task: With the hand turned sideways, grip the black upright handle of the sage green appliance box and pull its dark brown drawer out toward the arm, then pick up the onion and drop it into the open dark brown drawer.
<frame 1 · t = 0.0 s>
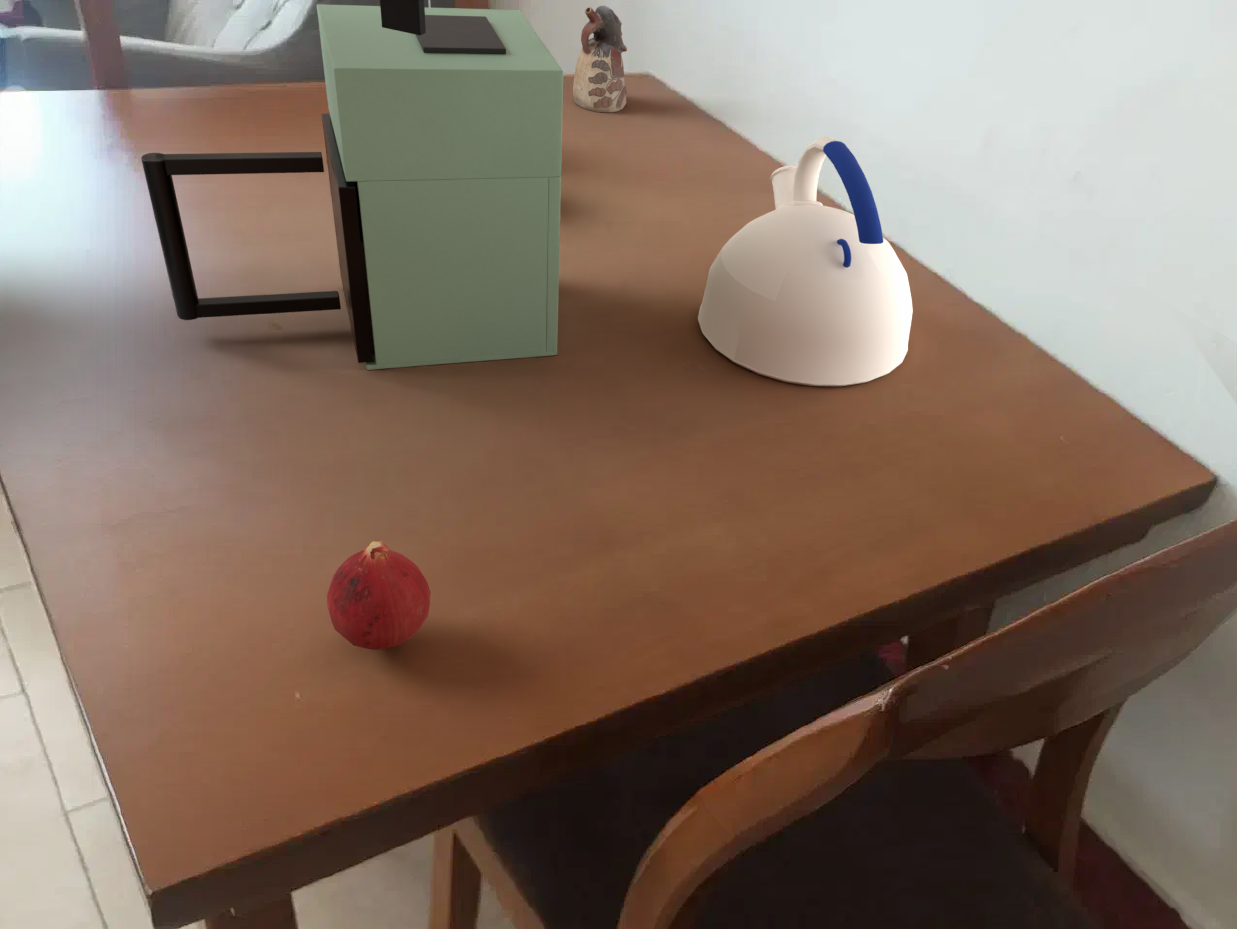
hand: (450, 7, 75), 28 cm above the table, tool pointing down, fingers open, 13 cm apart
sage green appliance box: (450, 318, 97), on the table
kettle: (802, 332, 104), on the table
french press: (441, 152, 126), on the table
figurine: (599, 104, 145), on the table
dark brown drawer: (350, 237, 89), point 8 cm above the table, slide at 0.0 cm
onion: (384, 645, 67), on the table
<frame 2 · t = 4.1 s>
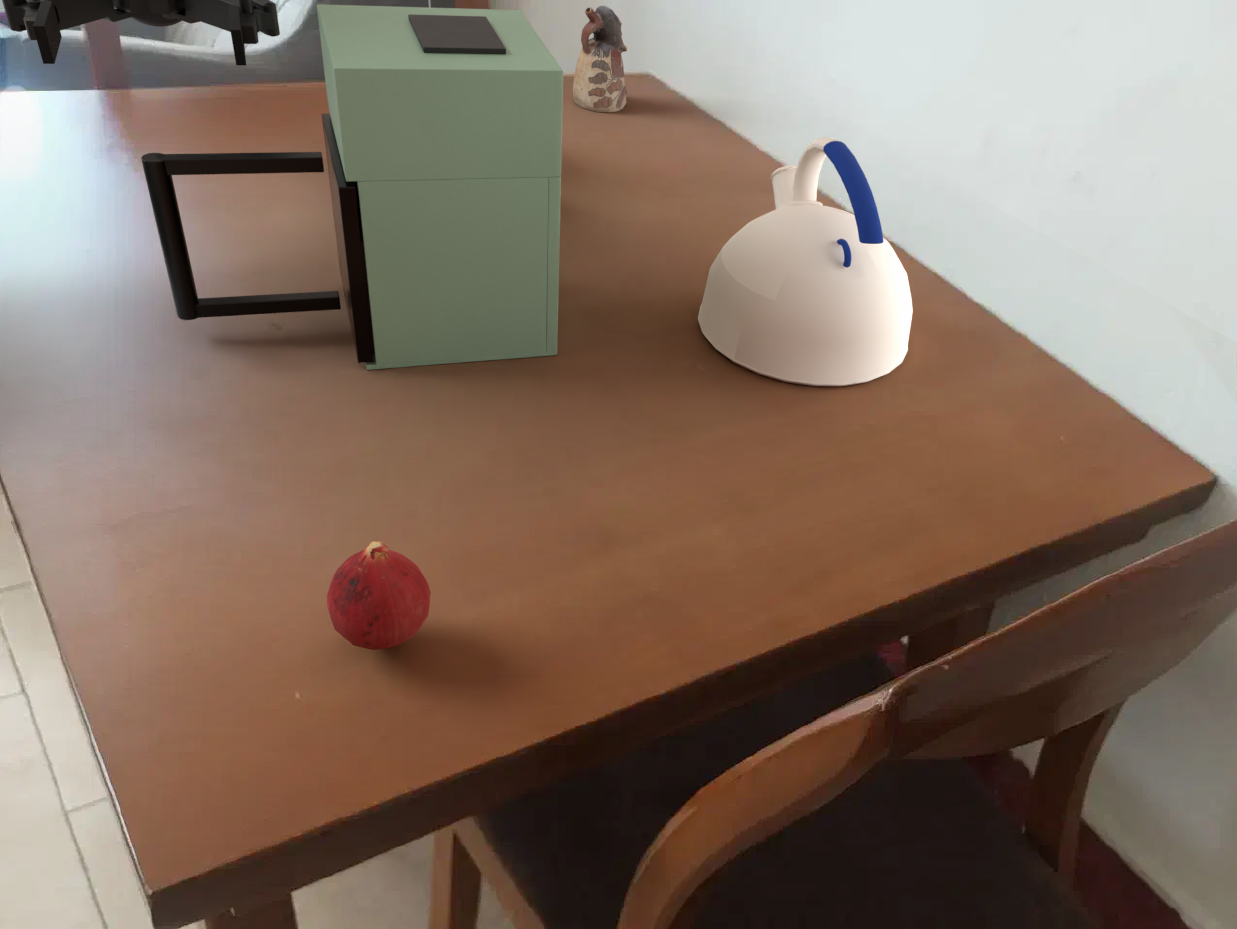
hand: (143, 46, 84), 20 cm above the table, tool horizontal, fingers open, 13 cm apart
nothing on the table moved.
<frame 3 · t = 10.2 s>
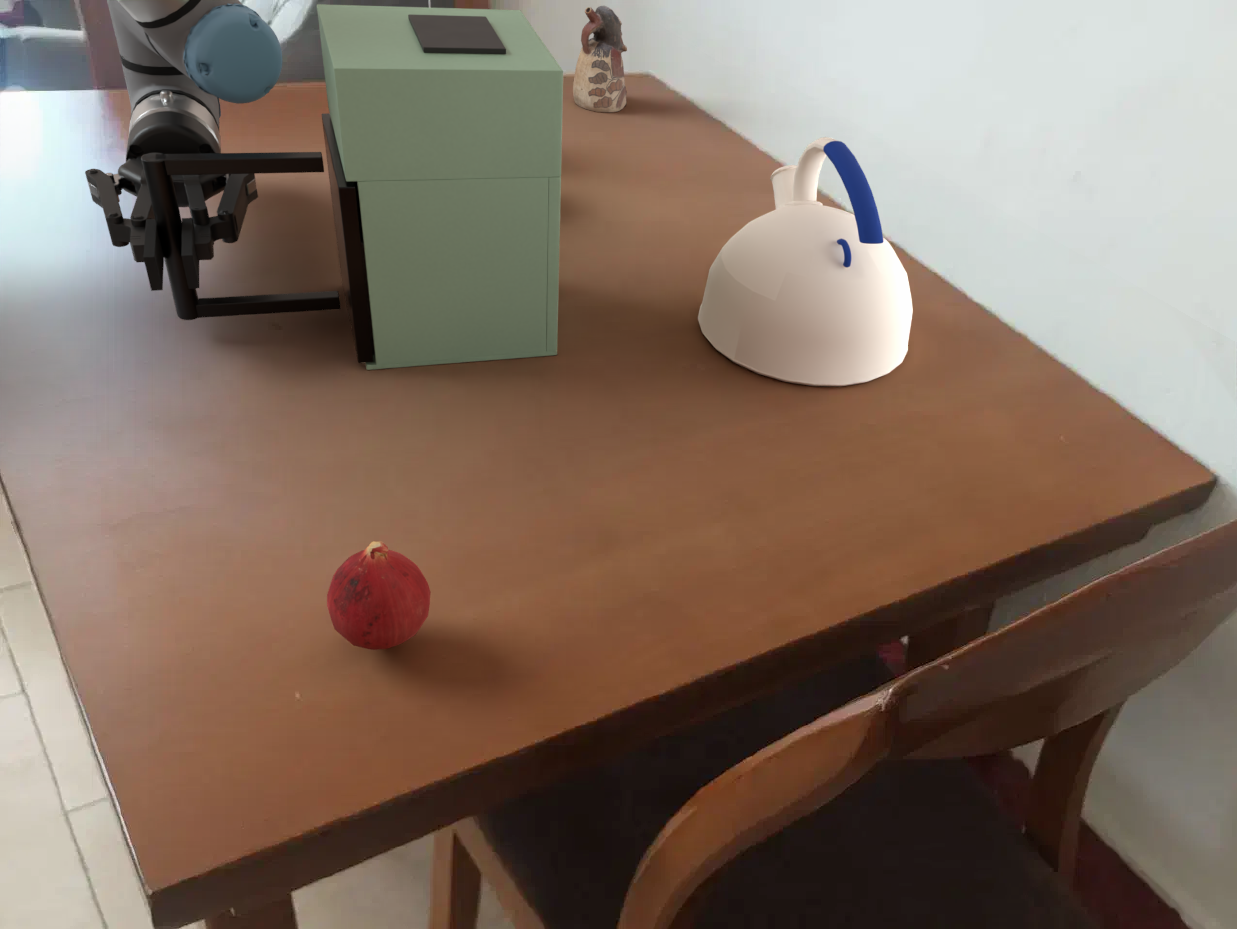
hand: (171, 272, 81), 8 cm above the table, tool horizontal, fingers closed on dark brown drawer, 2 cm apart
dark brown drawer: (350, 237, 89), point 8 cm above the table, slide at 0.0 cm, touching gripper
everything else where it was.
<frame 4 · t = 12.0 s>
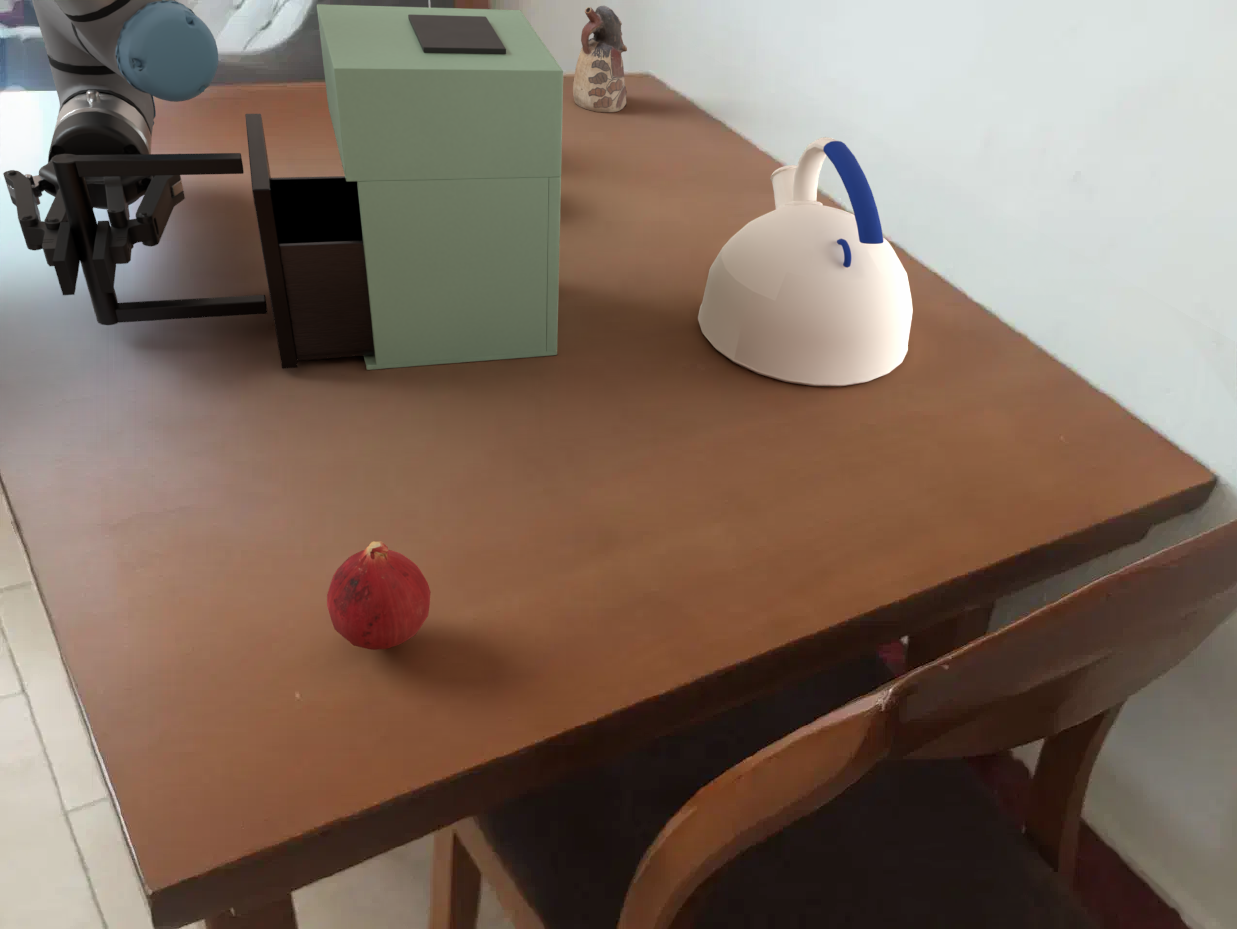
hand: (83, 277, 79), 8 cm above the table, tool horizontal, fingers closed on dark brown drawer, 2 cm apart
dark brown drawer: (274, 240, 88), point 8 cm above the table, slide at 5.8 cm, touching gripper
everything else where it was.
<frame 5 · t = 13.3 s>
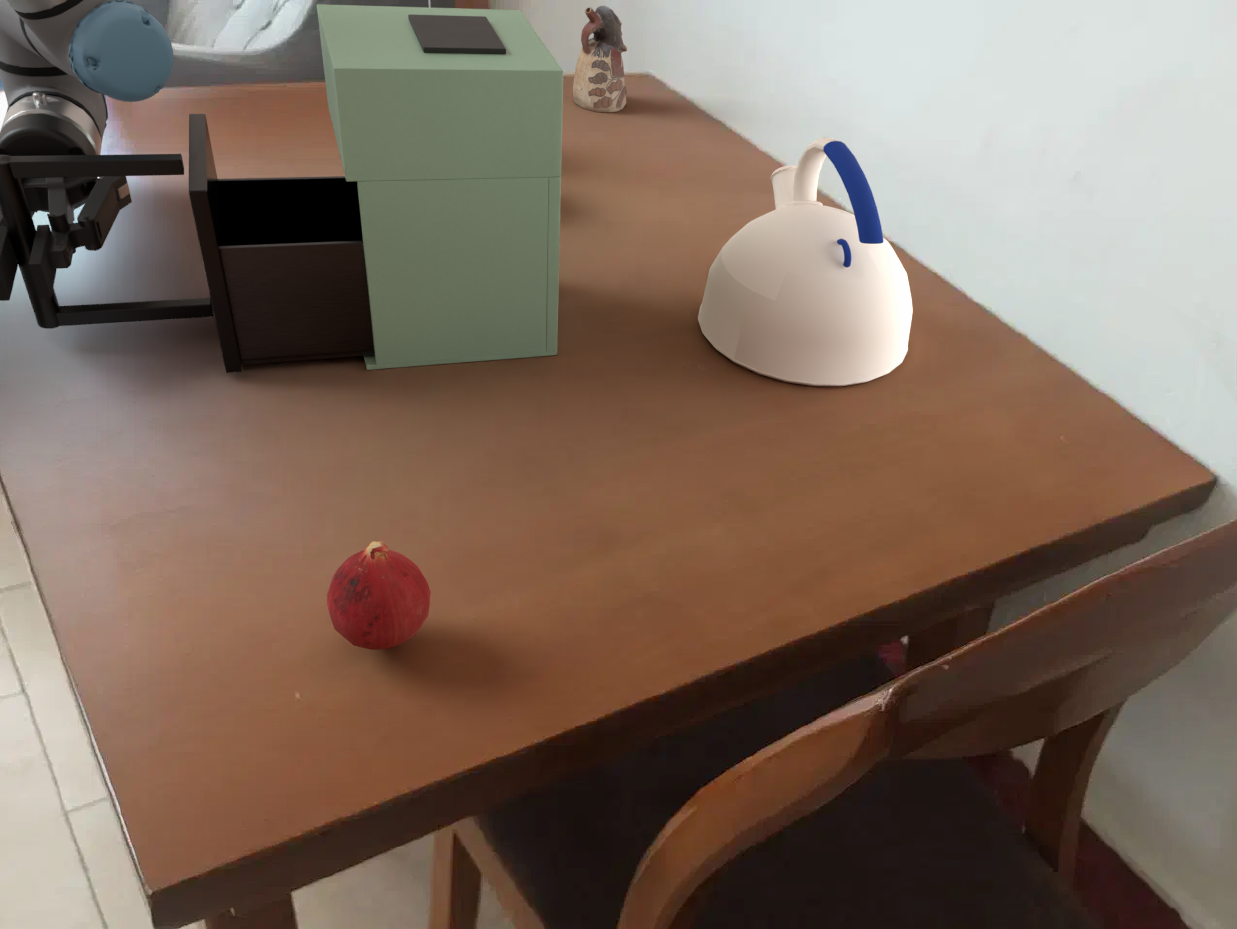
hand: (19, 282, 78), 8 cm above the table, tool horizontal, fingers open, 2 cm apart
dark brown drawer: (219, 242, 86), point 8 cm above the table, slide at 10.0 cm
everything else where it was.
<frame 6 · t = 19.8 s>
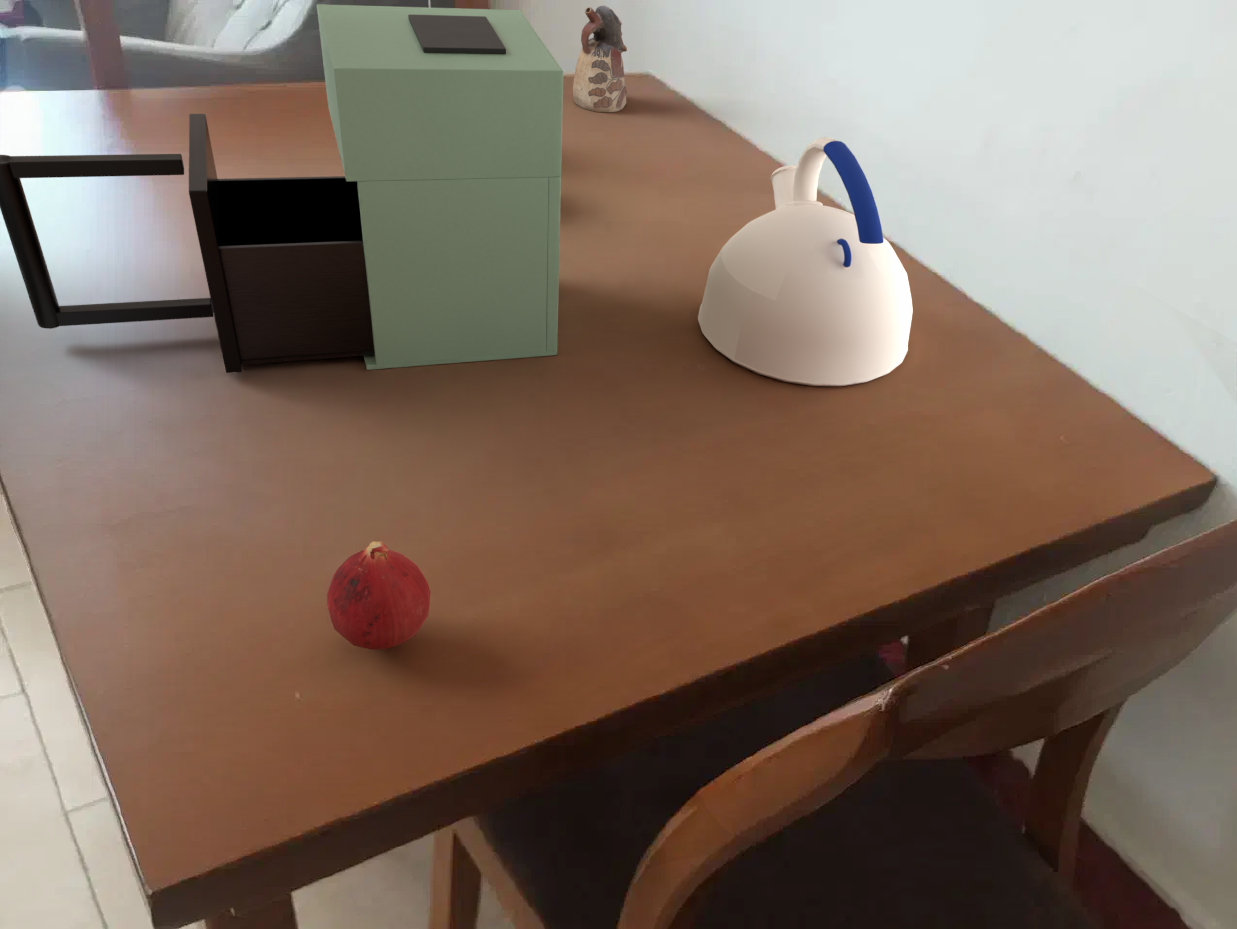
nothing on the table moved.
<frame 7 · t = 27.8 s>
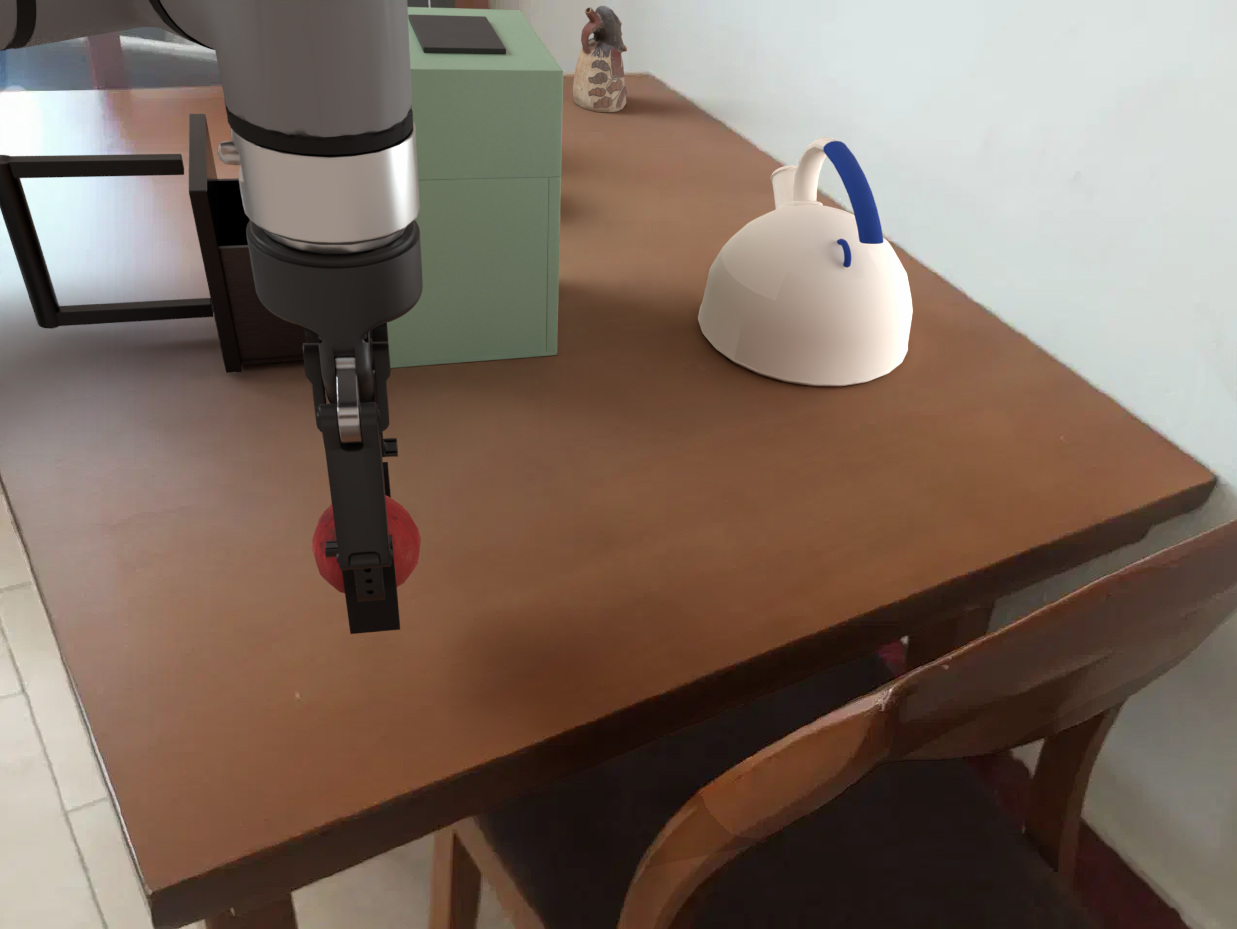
hand: (373, 587, 64), 5 cm above the table, tool pointing down, fingers closed on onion, 6 cm apart
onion: (372, 594, 64), point 4 cm above the table, touching gripper
everything else where it was.
when the fingers open (11 cm above the table, at t = 37.0 s): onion drops 9 cm, resting on dark brown drawer.
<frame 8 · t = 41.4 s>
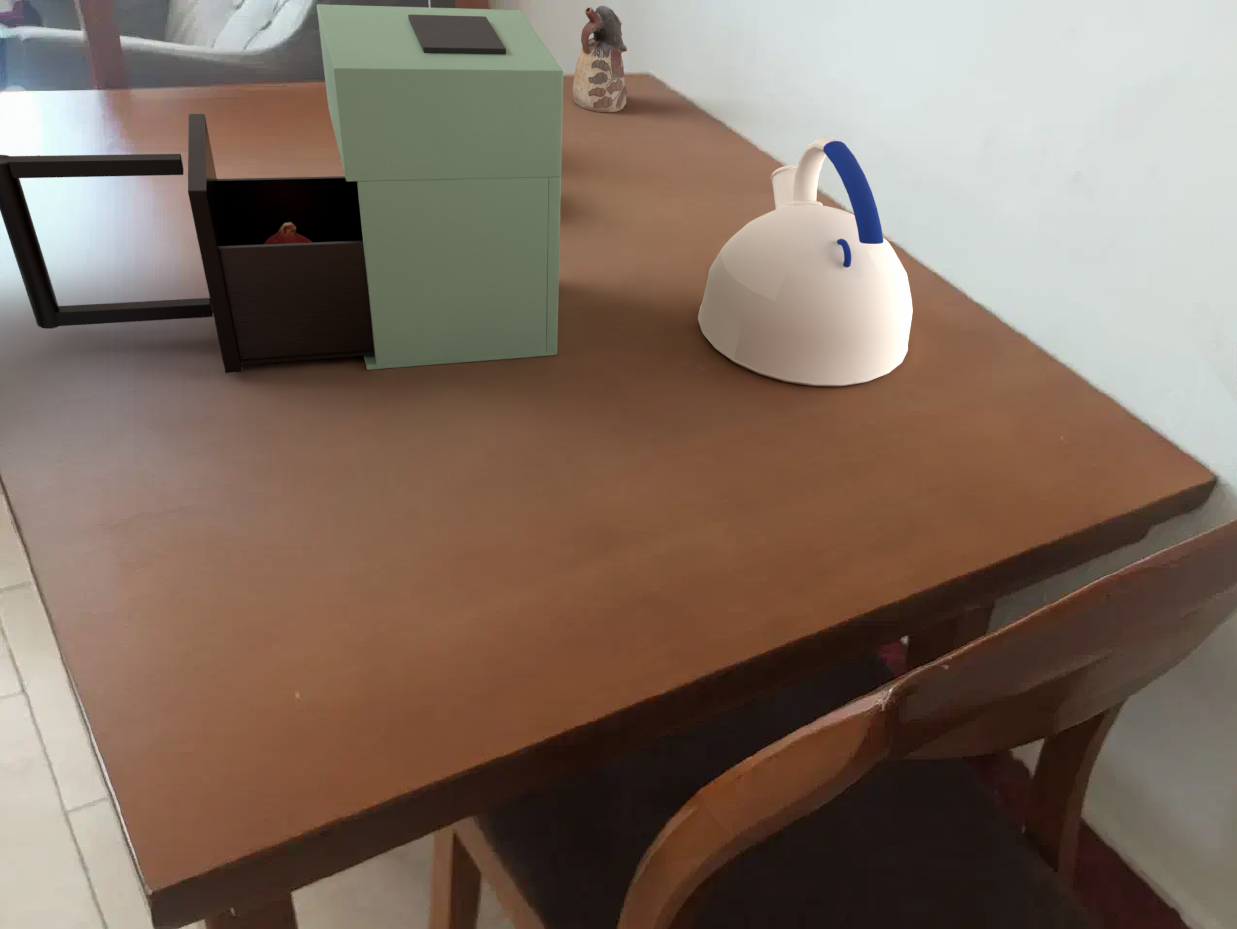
dark brown drawer: (218, 242, 86), point 8 cm above the table, slide at 10.0 cm, touching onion
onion: (298, 314, 93), point 1 cm above the table, touching dark brown drawer
everything else where it was.
at the end: dark brown drawer slide at 10.0 cm; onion inside the target area on the table beside the sage green appliance box (0.2 cm from its centre), point 1.1 cm above the table; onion touching dark brown drawer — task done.
